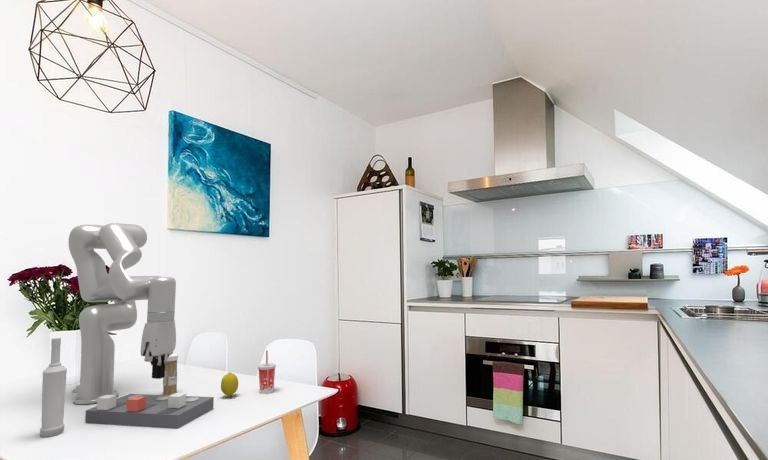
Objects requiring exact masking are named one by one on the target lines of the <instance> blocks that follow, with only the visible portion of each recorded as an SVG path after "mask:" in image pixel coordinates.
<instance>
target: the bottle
mask: <svg viewBox="0 0 768 460" xmlns="http://www.w3.org/2000/svg"><path fill="white" fill-rule="evenodd" d="M61 344H62V337H54V338H51V344H50V345H51V348H50V349H51V350H50V351H51V352H50V363H49V364H48V367H46V369H44V370H43V371H42V387H41V388H42V391H41V392H42V394H41V398H42V399H41V427H40V429H39V435H40V437H41V438H50V437H55V436H58V435H60V434H62V433H64V430H65V423H64V415H65V400H66V397H65V396H66V388H67V387H66V384H67V373H68V372H67V368H66V367H65V366H63V365H62V362H61Z"/></svg>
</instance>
